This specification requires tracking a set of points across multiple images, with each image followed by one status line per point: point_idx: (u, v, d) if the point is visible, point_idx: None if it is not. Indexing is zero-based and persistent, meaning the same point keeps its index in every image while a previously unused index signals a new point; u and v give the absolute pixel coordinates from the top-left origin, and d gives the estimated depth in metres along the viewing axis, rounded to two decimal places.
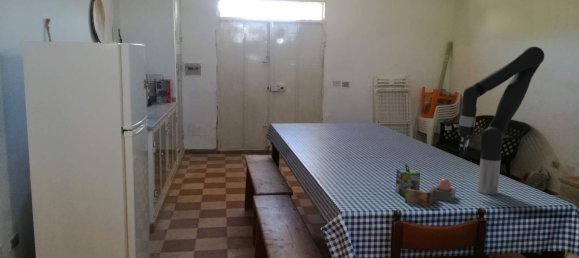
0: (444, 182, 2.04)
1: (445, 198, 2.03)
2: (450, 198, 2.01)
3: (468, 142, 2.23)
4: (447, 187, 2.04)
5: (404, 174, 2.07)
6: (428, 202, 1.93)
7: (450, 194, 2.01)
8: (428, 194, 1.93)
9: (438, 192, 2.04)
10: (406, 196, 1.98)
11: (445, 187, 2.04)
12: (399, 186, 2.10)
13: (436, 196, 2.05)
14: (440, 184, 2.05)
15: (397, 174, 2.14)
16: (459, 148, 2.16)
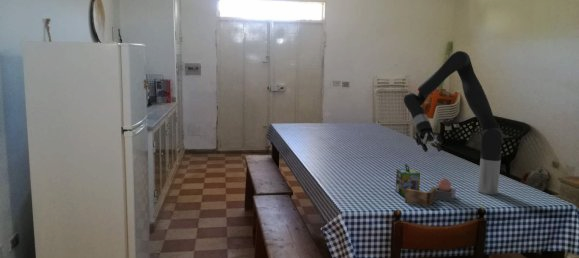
0: (444, 182, 2.04)
1: (445, 198, 2.03)
2: (450, 198, 2.01)
3: (434, 137, 2.19)
4: (447, 187, 2.04)
5: (404, 174, 2.07)
6: (428, 202, 1.93)
7: (450, 194, 2.01)
8: (428, 194, 1.93)
9: (438, 192, 2.04)
10: (406, 196, 1.98)
11: (445, 187, 2.04)
12: (399, 186, 2.10)
13: (436, 196, 2.05)
14: (440, 184, 2.05)
15: (397, 174, 2.14)
16: (418, 144, 2.17)
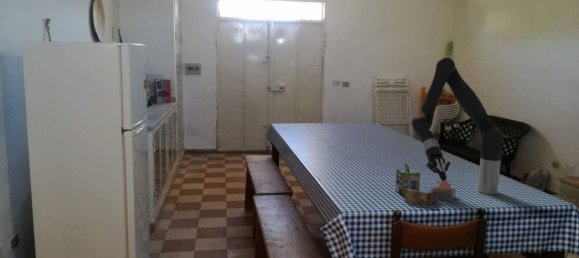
0: (444, 184, 2.05)
1: (445, 198, 2.03)
2: (450, 198, 2.01)
3: (442, 164, 2.10)
4: (447, 189, 2.04)
5: (404, 174, 2.07)
6: (428, 202, 1.93)
7: (450, 194, 2.01)
8: (428, 194, 1.93)
9: (438, 192, 2.04)
10: (406, 196, 1.98)
11: (445, 189, 2.04)
12: (399, 186, 2.10)
13: (436, 196, 2.05)
14: (440, 186, 2.05)
15: (397, 174, 2.14)
16: (434, 172, 2.09)
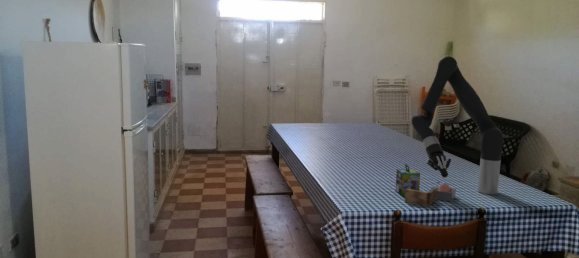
0: (444, 187, 2.05)
1: (445, 198, 2.03)
2: (450, 198, 2.01)
3: (442, 161, 2.09)
4: None
5: (404, 174, 2.07)
6: (428, 202, 1.93)
7: (450, 194, 2.01)
8: (428, 194, 1.93)
9: (438, 192, 2.04)
10: (406, 196, 1.98)
11: None
12: (399, 186, 2.10)
13: (436, 196, 2.05)
14: (440, 189, 2.05)
15: (397, 174, 2.14)
16: (435, 169, 2.08)
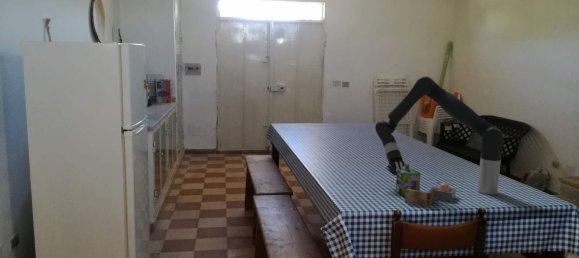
0: (444, 187, 2.05)
1: (445, 198, 2.03)
2: (450, 198, 2.01)
3: (401, 166, 2.20)
4: None
5: (404, 174, 2.06)
6: (428, 202, 1.93)
7: (450, 194, 2.01)
8: (428, 194, 1.93)
9: (438, 192, 2.04)
10: (406, 196, 1.98)
11: None
12: (400, 186, 2.09)
13: (436, 196, 2.05)
14: (440, 189, 2.05)
15: (397, 174, 2.13)
16: (394, 174, 2.19)
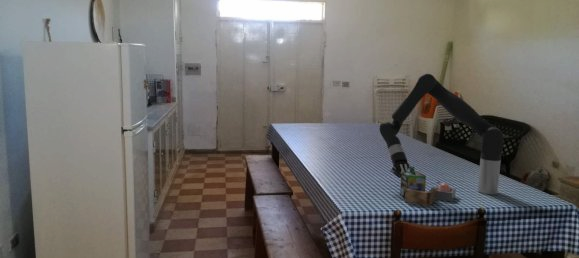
0: (444, 187, 2.05)
1: (445, 198, 2.03)
2: (450, 198, 2.01)
3: (406, 169, 2.15)
4: None
5: (410, 177, 2.01)
6: (428, 202, 1.93)
7: (450, 194, 2.01)
8: (428, 194, 1.93)
9: (438, 192, 2.04)
10: (406, 196, 1.98)
11: None
12: (405, 189, 2.04)
13: (436, 196, 2.05)
14: (440, 189, 2.05)
15: (402, 177, 2.08)
16: (398, 177, 2.14)
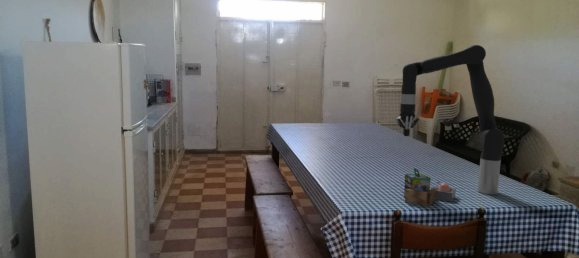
0: (444, 187, 2.05)
1: (445, 198, 2.03)
2: (450, 198, 2.01)
3: (410, 121, 2.21)
4: None
5: (414, 179, 1.98)
6: (428, 202, 1.93)
7: (450, 194, 2.01)
8: (428, 194, 1.93)
9: (438, 192, 2.04)
10: (406, 196, 1.98)
11: None
12: None
13: (436, 196, 2.05)
14: (440, 189, 2.05)
15: (406, 179, 2.04)
16: None
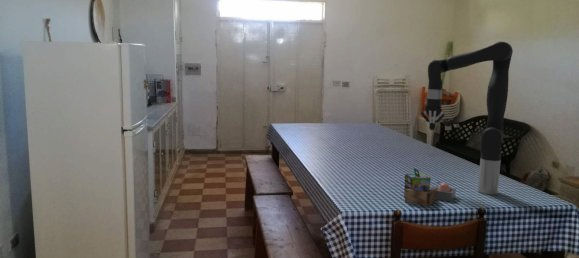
0: (444, 187, 2.05)
1: (445, 198, 2.03)
2: (450, 198, 2.01)
3: None
4: None
5: (414, 179, 1.98)
6: (428, 202, 1.93)
7: (450, 194, 2.01)
8: (428, 194, 1.93)
9: (438, 192, 2.04)
10: (406, 196, 1.98)
11: None
12: None
13: (436, 196, 2.05)
14: (440, 189, 2.05)
15: (406, 179, 2.04)
16: None
